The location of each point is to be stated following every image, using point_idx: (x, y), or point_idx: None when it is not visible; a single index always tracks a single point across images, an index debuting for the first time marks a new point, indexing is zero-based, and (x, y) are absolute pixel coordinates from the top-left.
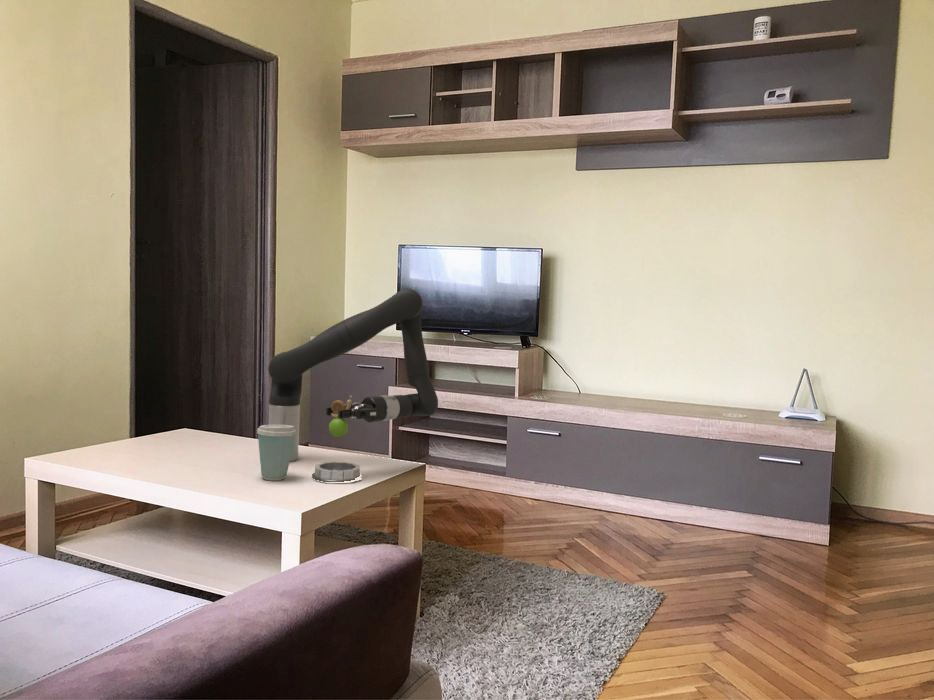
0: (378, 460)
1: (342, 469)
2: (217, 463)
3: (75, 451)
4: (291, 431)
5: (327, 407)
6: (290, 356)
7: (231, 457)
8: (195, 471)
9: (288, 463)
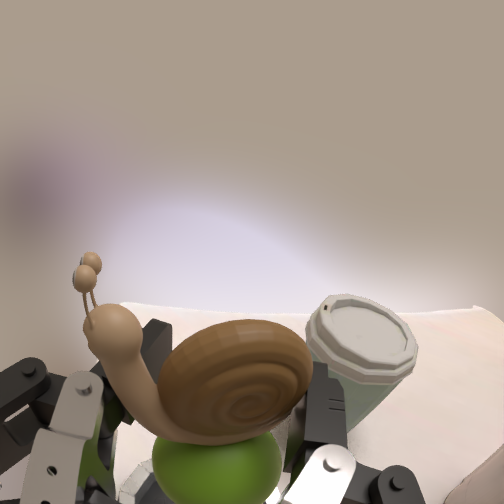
0: None
1: None
2: (465, 406)
3: None
4: (314, 334)
5: (327, 365)
6: None
7: (498, 436)
8: (422, 366)
9: None
